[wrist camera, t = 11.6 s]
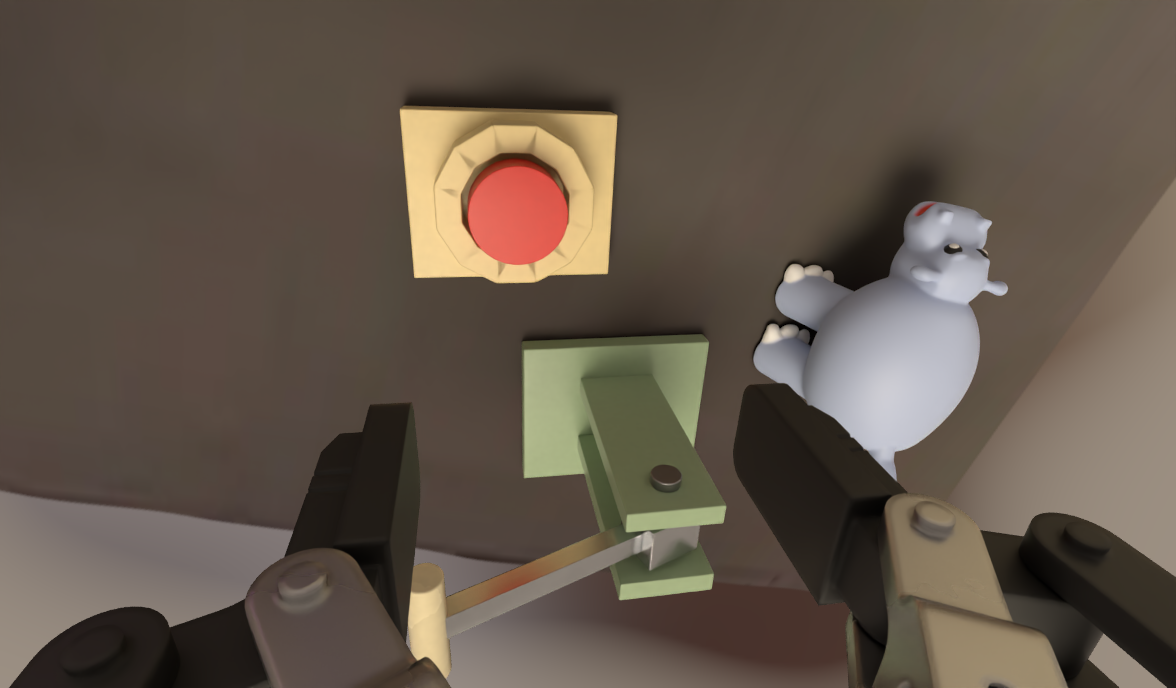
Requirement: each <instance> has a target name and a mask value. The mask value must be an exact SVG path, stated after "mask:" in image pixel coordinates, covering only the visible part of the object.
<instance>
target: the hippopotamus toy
mask: <svg viewBox="0 0 1176 688" xmlns="http://www.w3.org/2000/svg"><path fill="white" fill-rule="evenodd" d="M991 224H992V221H990V220H987V219H984V218H982V217H981V215H980V214H979V213H978V212H976V211H975V210H972V209H968V208H965V207H961V206H957V205H952V204H947V203H940V202H933V201H927V202H922V203H919V204H918V205H916V206H915V207H914V208H913V209H912V210H911V211H910V212H909V214H908V215H907V217H906V220H905V223H904V239H905V240H904V243H903V245H902V246H901V247H900V249H899V250H898V252H897V253H896V255H895V257H894V259H893V261H892V264H891V268H890V274H889V276H888V277H887V278H884V279H881V280H878V281H875V282H872V283H870V284H868V285H866V286H864V287H862V288H860V289H858V290H856V291H855V292H854V291H852V290H850V289H847V288H845V287H843V286H840V285H838V284H836V283H833V281H834V275H833V273H832V272H831V271H824V272H823V270H822V268H821V267H820V266H817V265H810V266H807V267H805V268H803V267H802V266H801V265H799V264H792V265H790V266H789V267H788V268H787V270H786V271H785V274H784V280H783V282H782V284H781V285H780V286H779V288H778V290H777V292H776V296H775V301H776V305H777V307H778V309H779V310H780V312H781V313H783V314H784V315H785V316H787V317H789V318H791V319H793V320H795V321H797V322H799V323H801V324H803V325H805V326H807V327H809V328H811V329H813V330H815V331H817V334H816V336H815V338H814V341H813V343H812V346H810V345H808V343H809V340H810V333H809V331H808V330H806V329H803V330H801V331H799V328H798V327H797V326H796V325H792V324H788V325H785V326H783V327H782V328H780V329H779V327H778V325H776V324H770V325H768V326H767V328H766V331H765V333H764V335H763V338H762V341H761V342H760V344H759V345H758V346H757V348H756V350H755V353H754V358H753V361H754V364H755V367H756V368H757V369H758V370H759V371H760V372H761V373H763V374H764V375H766V376H768V377H769V378H771V379H773V380H774V381H776V382H778V383H786V384H788V385H789V386H790V387H791V388H792V389H793V390H794V391H795V392H796V393H797V394H798V395H800V396H801V397H803V398H805V399H806V401H807V404H808V405H812V406H814V407H816V408H818V409H819V410H821V411H823V412H825V413H826V414H828V415H830V416H831V417H833V418H835V419H836V420H837V421H838V422H839V423H840V424H841V425H842V426H843V427H844V428H845V429H846V430H847V431H848V432H849V433H850V437H851V438H854V439H855V440H856V441H857V442H858V443H859V444H860V445H861V446H862V447H863V449H866V450H868V451H869V454H870V455H871V456H872V457H873V458H874V459H875V460H876V461H877V462H878V463H879V464H880V465H881V466H882V467H883V468H884V469H885V470H886V471H887V472H888V473H889V474H890V475H891V476H892V477H893V478H894V479H895V480H896V481H897V478H896V469H895V465H894V453H895V451H900V450H904V449H907V448H909V447H911V446H913V445H915V444H917V443H918V442H920V441H921V440H923V439H924V438H925V437H926V436H928V435H929V434H930V433H931V432H932V431H934V430H935V429H936V428H937V427H938V426H939V425H940V424H941V423H942V422H943V421H944V420H945V419H946V418H947V417H948V416H949V415H950V414H951V412H952V411H953V410H954V409H955V408H956V406H957V405H958V404H959V402H960V401H961V399H962V398H963V396H964V395H965V393H966V391H967V389H968V387H969V385H970V383H971V381H972V379H973V376H974V373H975V370H976V367H977V363H978V358H979V350H980V336H979V329H978V324H977V321H976V317H975V315H974V313H973V310H972V309H971V307H970V305H969V304H968V302H969V301H971V300H972V299H974V298H975V297H976V296H977V295H978V294H979V293H980V292H981V291H983V290H985V291H989V292H991V293H993V294H995V295H1004V294H1005V293H1006V292H1007V290H1008V287H1007V285H1006V284H1005V283H1004V282H1001V281H994V282H991V281H988V280H987V277H988V268H989V265H990V261H989V259H988V253H987V251H985V250H983V249H982V248H983V247H984V245H985V242H986V239H987V229H988V228H989V227H990V225H991Z"/></svg>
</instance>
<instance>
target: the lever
mask: <svg viewBox="0 0 1176 688" xmlns="http://www.w3.org/2000/svg"><path fill="white" fill-rule="evenodd" d="M699 530H700V525H697V526H687V527H677V528H666V529H656V530H646V531H636V532H625V529H624V526H623V523H622V520H621V525H619V526H616V527H614V528H611V529H609V530H607V531H604V532H602V533H599V534H597V535H594V536H592V537H590V538H587V539H585V540H582V541H580V542H578V543H575V544H573V545H570V546H568V547H566V548H563V549H561V550H558V551H556V552H553V553H551V554H549V555H546V556H544V557H541V558H539V559H537V560H534V561H532V562H529V563H527V564H525V565H522V566H520V567H517V568H515V569H513V570H510V571H508V572H505V573H503V574H501V575H498V576H496V577H493V578H491V579H488V580H486V581H484V582H481V583H479V584H477V585H474V586H471V587H469V588H467V589H464V590H462V591H459V592H457V593H455V594H452V595H450V596H447V597H446V594H445V582H444V573H443V571H442V569H441V568H440V567H439V566H437V565H435V564H432V563H422V564H418V565H416V566H414V567H413V576H412V586H411V596H410V606H409V616H408V630H409V638H410V646H411V653H412V654H413V656H414V657H415V658H416V659H417V660H420V659H422V658H423V657H428V658H430V659H431V660H432V661H433V662H434V663H435V664H436V666H437V667H438V668H439V670H440V671H441V673H442V674H443V676H444V677H445V679H446V678H447V676H448V675H449V673H450V671H451V653H450V641H449V638H450V637H453V636H455V635H457V634H459V633H462V632H464V631H466V630H468V629H471V628H473V627H475V626H477V625H479V624H481V623H484V622H486V621H488V620H491V619H493V618H495V617H497V616H499V615H502V614H504V613H506V612H508V611H511V610H513V609H515V608H517V607H519V606H522V605H524V604H526V603H528V602H531V601H533V600H535V599H537V598H539V597H541V596H544V595H546V594H548V593H551V592H553V591H555V590H557V589H559V588H562V587H564V586H566V585H568V584H570V583H573V582H575V581H577V580H580V579H582V578H584V577H586V576H588V575H591V574H593V573H595V572H597V571H600V570H602V569H604V568H606V567H608V566H611V565H613V564H615V563H617V562H620V561H622V560H624V559H626V558H628V557H631V556H633V555H636V556H637V557H638V559H639V560H640V561H641V562H642V563H643V564H644V565H645V566H646V568H647V569H648V570H649V571H650V570H653V569H655V568H657V567H659V566H661V565H663V564H665V563H667V562H670V561H672V560H674V559H676V558H678V557H680V556H682V555H684V554H686V553H689V552H691V551H693V550H695V549H696V548H697V543H698V537H699Z"/></svg>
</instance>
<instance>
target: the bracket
mask: <svg viewBox="0 0 1176 688" xmlns="http://www.w3.org/2000/svg"><path fill="white" fill-rule="evenodd" d="M708 346H709V342H708V340H707V339H706V338H705V337H704V335H703V334H692V335H666V336H641V337H616V338H591V339H566V340H540V341H522V467H523V475H524V478H532V477H545V476H557V475H570V474H582V473H584V474H585V478H586V482H587V485H588V489H589V492H590V496H591V500H592V503H593V507H594V510H595V514H596V518H597V521H598V525H599V529H600V532H601V533H602V532H604V531H607V530H609V529H611V528H614V527H616V526H619V525H621V520H622V523H623V526H624V529H625V532H636V531H646V530H656V529H666V528H677V527H687V526H697V525H707V524H717V523H723V522H724V516H725V511H726V504H725V502H724V500H723V499H722V497H721V495H720V493H719V492H718V490H717V488H716V486H715V484H714V483H713V481H712V479H711V477H710V476H709V474H708V472H707V470H706V469H705V467H704V465H703V463H702V461H701V460H700V458H699V456H698V454H697V453H696V451H695V449H694V443H695V436H696V429H697V422H698V415H699V408H700V401H701V395H702V388H703V381H704V374H705V367H706V360H707V353H708ZM610 568H611V572H612V576H613V579H614V583H615V586H616V590H617V594H618V597H619V600H626V599H634V598H642V597H651V596H659V595H668V594H675V593H684V592H693V591H700V590H709V589H711V588H712V582H713V577H714V573H713V571H712V569H711V567H710V564H709V562H708V560H707V558H706V556H705V554H704V552H703V549H702V547H701V545H700V543H699V541H698V543H697V548H696V549H695V550H693V551H691V552H689V553H686V554H684V555H682V556H680V557H678V558H676V559H674V560H672V561H670V562H667V563H665V564H663V565H661V566H659V567H657V568H655V569H653V570H650V571H649V570H648V569H647V568H646V566H645V565H644V564H643V563H642V562H641V561H640V560H639V559H638V557H637V556H636V555H633V556H631V557H628V558H626V559H624V560H622V561H620V562H617V563H615V564H613V565H611V566H610Z"/></svg>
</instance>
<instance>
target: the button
mask: <svg viewBox="0 0 1176 688" xmlns="http://www.w3.org/2000/svg"><path fill="white" fill-rule="evenodd" d="M467 210H468V224H469V228H470V232H471V234H472V236H473V238H474V240H475V242H476V243H477V245H478V246H479V247H480V248H481V249H482V250H483V251H484V252H485V253H486V254H487V255H489V256H490V257H492V258H493V259H495V260H498V261H500V262H503V263H506V264H512V265H524V264H530V263H533V262H536V261H539V260H541V259H543V258H544V257H546V256H548V255H549V254H550V253H551V252H552V251H554V249H555V248H556V247H557V246H558V245H559V243H560V242H561V240H562V238H563V236H564V234H565V231H566V228H567V224H568V208H567V203H566V200H565V197H564V195H563V193H562V191H561V189H560V188H559V186H558V185H557V183H556V181H555V180H554V178H553V177H552V176H551V175H550V174H549V173H548V172H547V171H546V170H545V169H544V168H543V167H541V166H540V165H538V164H536V163H534V162H531V161H529V160H525V159H518V158H511V159H504V160H500V161H497V162H495V163H493V164H491V165H489V166H488V167H486V168H485V169H484V170H483V171H482V172H481V173H480V174H479V175H478V176H477V177H476V179H475V180H474V182H473V184H472V186H471V188H470V191H469V195H468V205H467Z"/></svg>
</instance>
